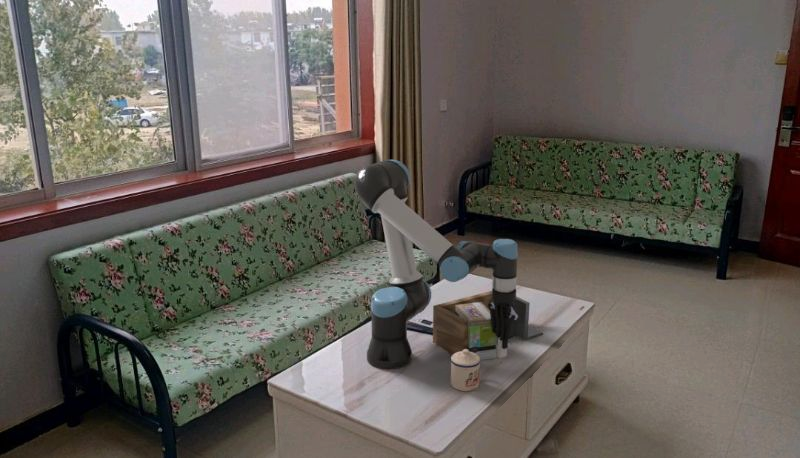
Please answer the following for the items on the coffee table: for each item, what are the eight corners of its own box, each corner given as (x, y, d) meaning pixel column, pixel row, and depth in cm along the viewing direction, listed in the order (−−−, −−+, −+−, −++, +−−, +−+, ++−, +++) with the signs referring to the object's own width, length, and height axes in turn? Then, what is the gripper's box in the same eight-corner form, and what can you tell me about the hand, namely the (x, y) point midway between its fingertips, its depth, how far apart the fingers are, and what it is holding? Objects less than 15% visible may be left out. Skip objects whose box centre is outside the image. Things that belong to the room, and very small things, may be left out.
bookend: (524, 340, 224) (526, 303, 220) (501, 328, 234) (503, 292, 230) (543, 334, 229) (545, 298, 225) (520, 322, 238) (522, 287, 235)
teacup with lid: (468, 395, 189) (469, 360, 186) (444, 385, 195) (444, 351, 191) (490, 379, 198) (491, 346, 195) (466, 370, 204) (467, 337, 200)
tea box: (497, 358, 211) (497, 317, 206) (468, 362, 209) (468, 321, 204) (481, 339, 225) (481, 300, 221) (454, 342, 223) (454, 304, 218)
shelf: (462, 362, 209) (463, 323, 205) (432, 342, 223) (433, 305, 219) (542, 336, 227) (544, 300, 223) (510, 319, 241) (512, 285, 237)
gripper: (527, 292, 195) (524, 361, 202) (500, 279, 206) (498, 345, 213) (508, 297, 192) (506, 367, 198) (481, 284, 202) (480, 351, 209)
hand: (501, 356), depth 205 cm, fingers closed
